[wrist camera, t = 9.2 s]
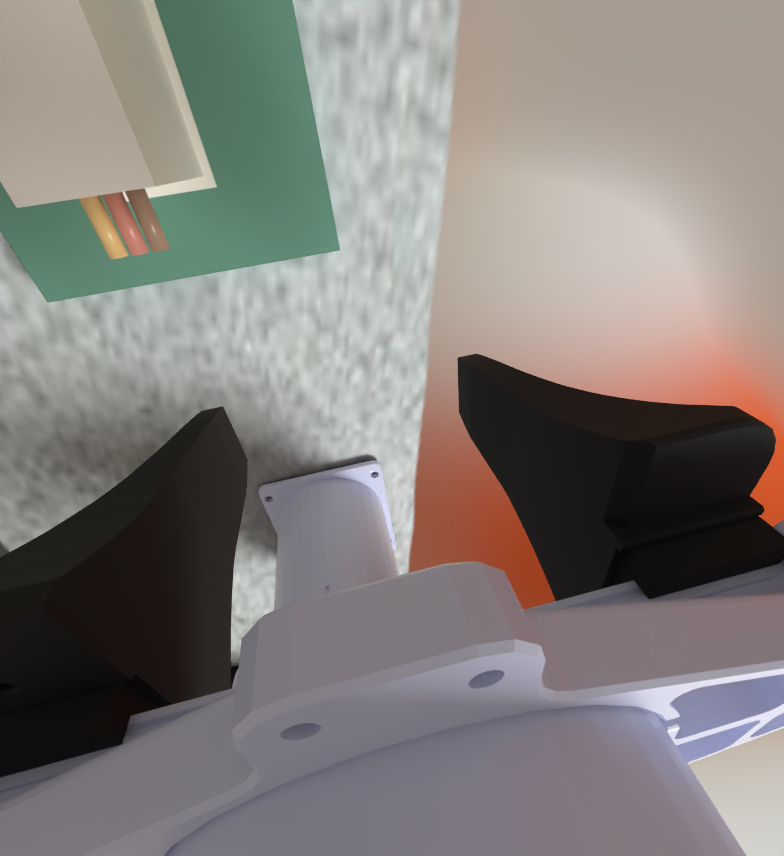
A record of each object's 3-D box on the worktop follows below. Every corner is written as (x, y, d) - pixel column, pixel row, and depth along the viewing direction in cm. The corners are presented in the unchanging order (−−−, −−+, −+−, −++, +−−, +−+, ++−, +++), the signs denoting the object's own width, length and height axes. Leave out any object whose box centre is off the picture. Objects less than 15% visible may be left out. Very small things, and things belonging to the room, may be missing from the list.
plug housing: (220, 223, 15) (183, 254, 10) (136, 236, 15) (58, 275, 10) (124, -53, 11) (-12, -217, 6) (5, -41, 11) (-237, -203, 6)
